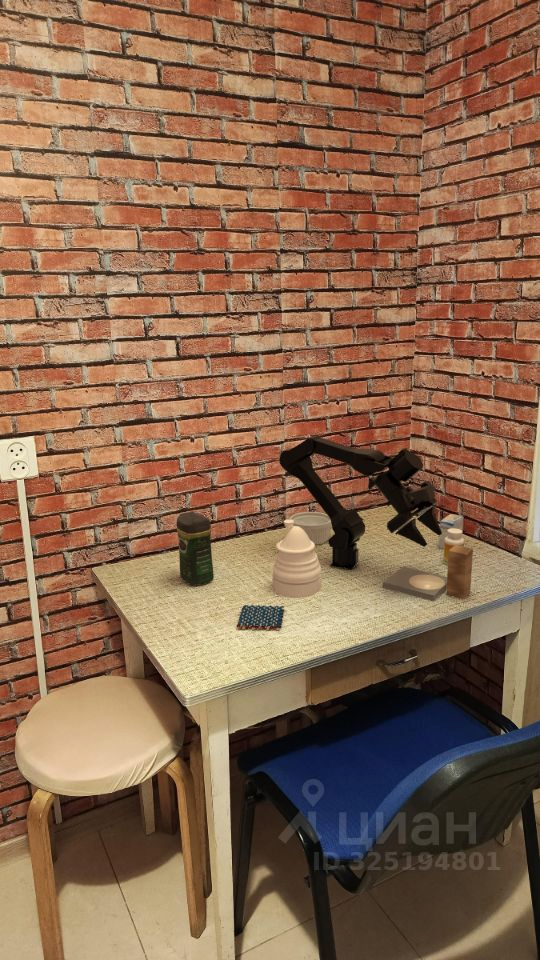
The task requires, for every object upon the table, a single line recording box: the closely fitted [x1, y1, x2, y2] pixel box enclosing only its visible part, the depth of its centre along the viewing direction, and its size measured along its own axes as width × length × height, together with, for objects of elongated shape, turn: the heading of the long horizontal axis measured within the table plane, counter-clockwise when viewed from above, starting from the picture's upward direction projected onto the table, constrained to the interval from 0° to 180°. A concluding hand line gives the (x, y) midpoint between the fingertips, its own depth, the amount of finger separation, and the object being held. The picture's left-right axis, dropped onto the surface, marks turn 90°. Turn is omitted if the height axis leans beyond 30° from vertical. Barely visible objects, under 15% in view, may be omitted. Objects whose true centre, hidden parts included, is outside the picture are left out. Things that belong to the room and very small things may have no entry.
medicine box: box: [438, 513, 464, 550], centre depth 193 cm, size 8×4×9 cm, turn 144°
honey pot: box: [271, 519, 323, 598], centre depth 167 cm, size 13×13×18 cm
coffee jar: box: [176, 510, 215, 586], centre depth 173 cm, size 10×8×19 cm
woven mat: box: [236, 604, 285, 632], centre depth 152 cm, size 10×11×2 cm
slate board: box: [382, 565, 447, 602], centre depth 168 cm, size 14×12×2 cm
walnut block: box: [445, 545, 474, 600], centre depth 161 cm, size 4×4×12 cm
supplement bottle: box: [442, 528, 465, 566], centre depth 180 cm, size 5×5×10 cm
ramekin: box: [289, 511, 332, 546], centre depth 201 cm, size 13×13×7 cm
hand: (433, 540), depth 163 cm, fingers open, 9 cm apart
